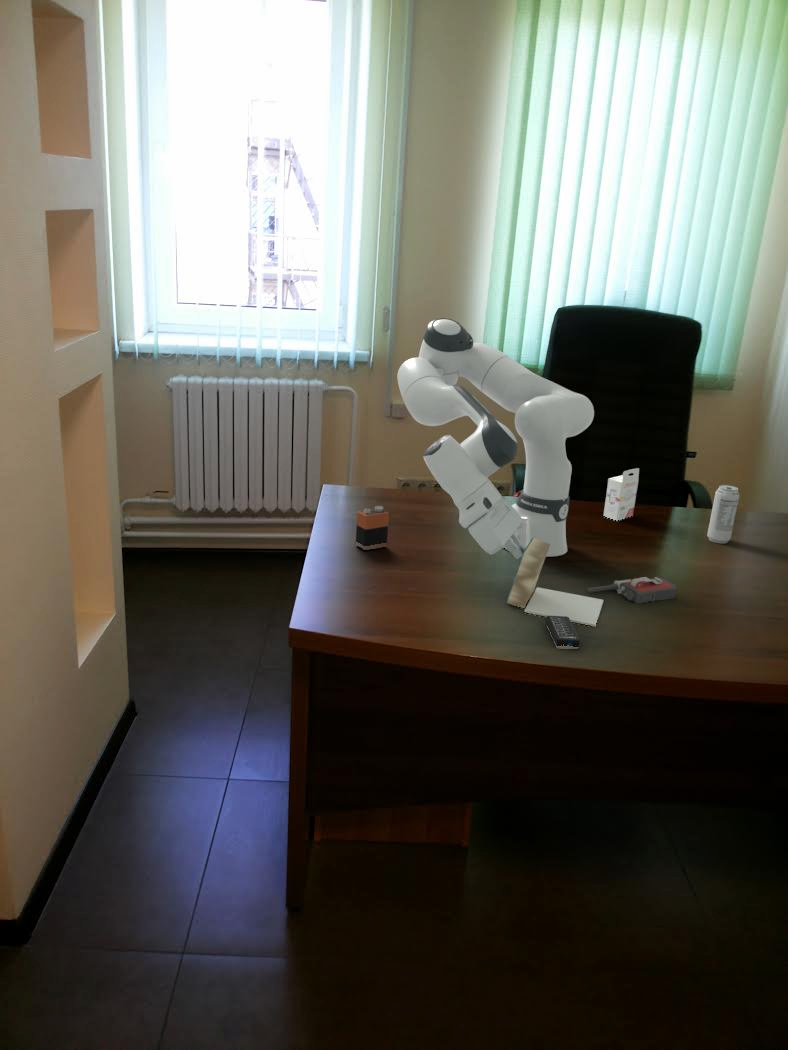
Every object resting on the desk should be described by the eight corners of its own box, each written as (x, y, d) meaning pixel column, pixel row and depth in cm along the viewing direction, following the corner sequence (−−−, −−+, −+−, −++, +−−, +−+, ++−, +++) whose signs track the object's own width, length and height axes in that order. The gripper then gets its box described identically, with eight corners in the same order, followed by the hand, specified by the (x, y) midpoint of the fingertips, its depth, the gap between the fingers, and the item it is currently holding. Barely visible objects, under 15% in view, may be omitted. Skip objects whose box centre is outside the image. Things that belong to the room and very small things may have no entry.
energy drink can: (726, 537, 228) (736, 485, 223) (732, 545, 222) (743, 491, 218) (703, 535, 229) (714, 483, 224) (709, 543, 223) (720, 489, 218)
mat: (524, 613, 171) (524, 610, 171) (536, 589, 183) (537, 587, 183) (595, 627, 166) (595, 624, 166) (603, 602, 179) (603, 599, 179)
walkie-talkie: (654, 584, 192) (584, 594, 184) (657, 566, 191) (586, 575, 183) (681, 599, 185) (609, 609, 177) (684, 580, 183) (612, 590, 175)
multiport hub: (567, 626, 167) (568, 616, 166) (579, 651, 157) (580, 640, 156) (545, 625, 167) (546, 615, 166) (556, 650, 156) (557, 639, 156)
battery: (387, 547, 203) (390, 508, 200) (364, 552, 199) (366, 512, 196) (377, 542, 206) (379, 503, 203) (354, 546, 202) (356, 507, 199)
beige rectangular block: (505, 602, 174) (523, 551, 169) (515, 586, 183) (532, 537, 178) (523, 609, 173) (541, 558, 168) (532, 592, 182) (550, 544, 177)
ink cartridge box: (618, 512, 245) (626, 464, 240) (633, 516, 242) (641, 467, 237) (601, 517, 239) (609, 467, 235) (616, 521, 236) (624, 471, 231)
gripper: (482, 499, 185) (520, 548, 185) (456, 524, 167) (498, 578, 167) (503, 483, 182) (542, 533, 183) (480, 507, 164) (523, 562, 164)
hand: (521, 555), depth 175 cm, fingers closed
